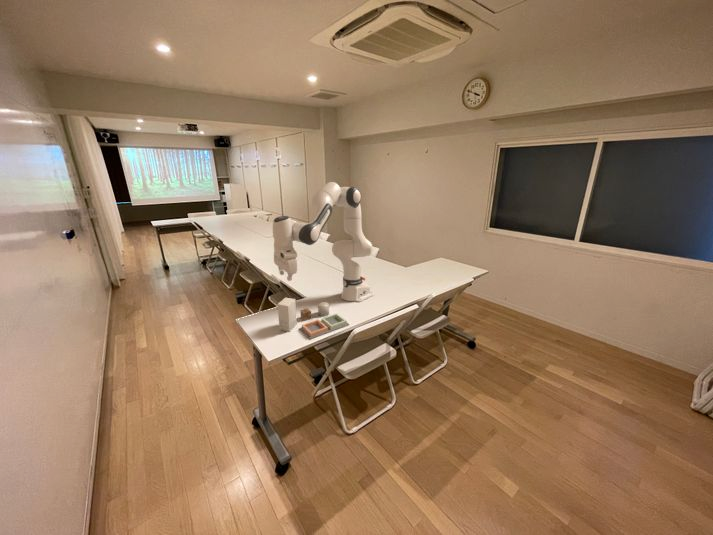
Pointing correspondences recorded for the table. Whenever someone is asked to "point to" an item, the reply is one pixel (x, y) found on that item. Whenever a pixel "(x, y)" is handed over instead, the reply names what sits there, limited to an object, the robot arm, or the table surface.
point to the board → (323, 326)
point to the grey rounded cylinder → (323, 309)
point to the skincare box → (287, 314)
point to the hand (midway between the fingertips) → (285, 277)
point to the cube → (305, 314)
